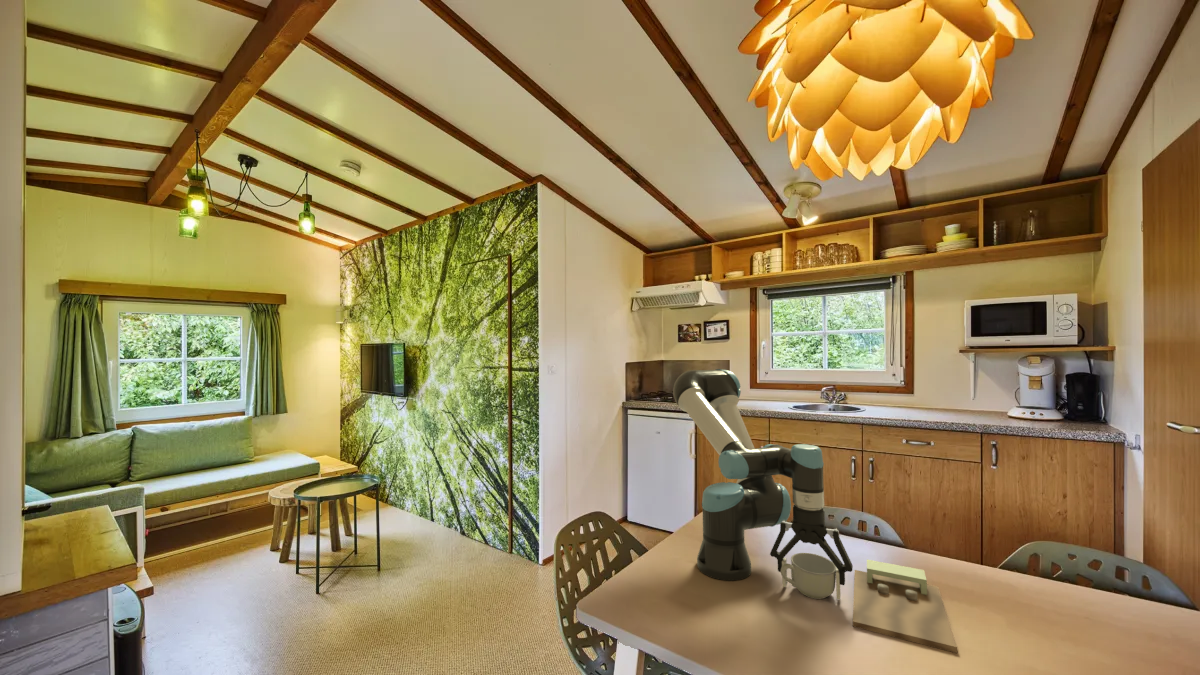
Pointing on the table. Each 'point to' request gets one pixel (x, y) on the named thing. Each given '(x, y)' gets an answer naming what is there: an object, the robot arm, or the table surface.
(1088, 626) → the table surface
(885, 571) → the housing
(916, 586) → the board
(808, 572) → the teacup
